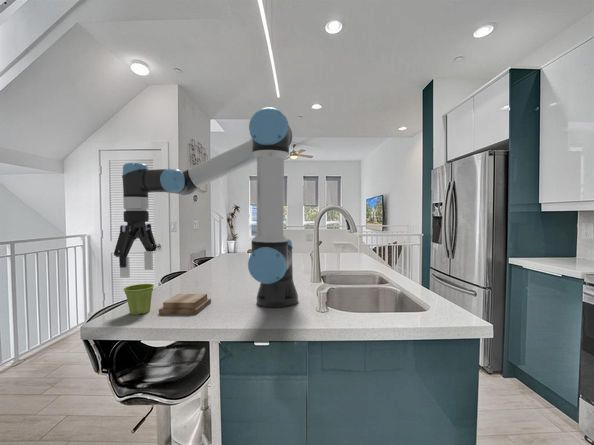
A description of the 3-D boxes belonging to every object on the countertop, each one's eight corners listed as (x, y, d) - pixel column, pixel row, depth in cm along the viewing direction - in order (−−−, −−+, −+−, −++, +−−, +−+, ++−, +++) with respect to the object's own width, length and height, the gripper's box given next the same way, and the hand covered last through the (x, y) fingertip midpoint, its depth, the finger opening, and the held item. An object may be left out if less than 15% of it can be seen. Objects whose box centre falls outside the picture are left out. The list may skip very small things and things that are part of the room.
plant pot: (142, 317, 101) (141, 290, 101) (117, 316, 103) (116, 289, 103) (161, 308, 111) (160, 284, 110) (137, 307, 112) (136, 283, 112)
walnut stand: (211, 302, 117) (210, 293, 116) (196, 314, 104) (196, 303, 104) (177, 302, 118) (176, 293, 118) (158, 313, 105) (158, 303, 105)
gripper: (146, 210, 119) (147, 266, 119) (99, 210, 94) (101, 281, 94) (165, 210, 118) (166, 266, 119) (123, 209, 93) (124, 281, 94)
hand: (137, 273), depth 107 cm, fingers open, 13 cm apart
